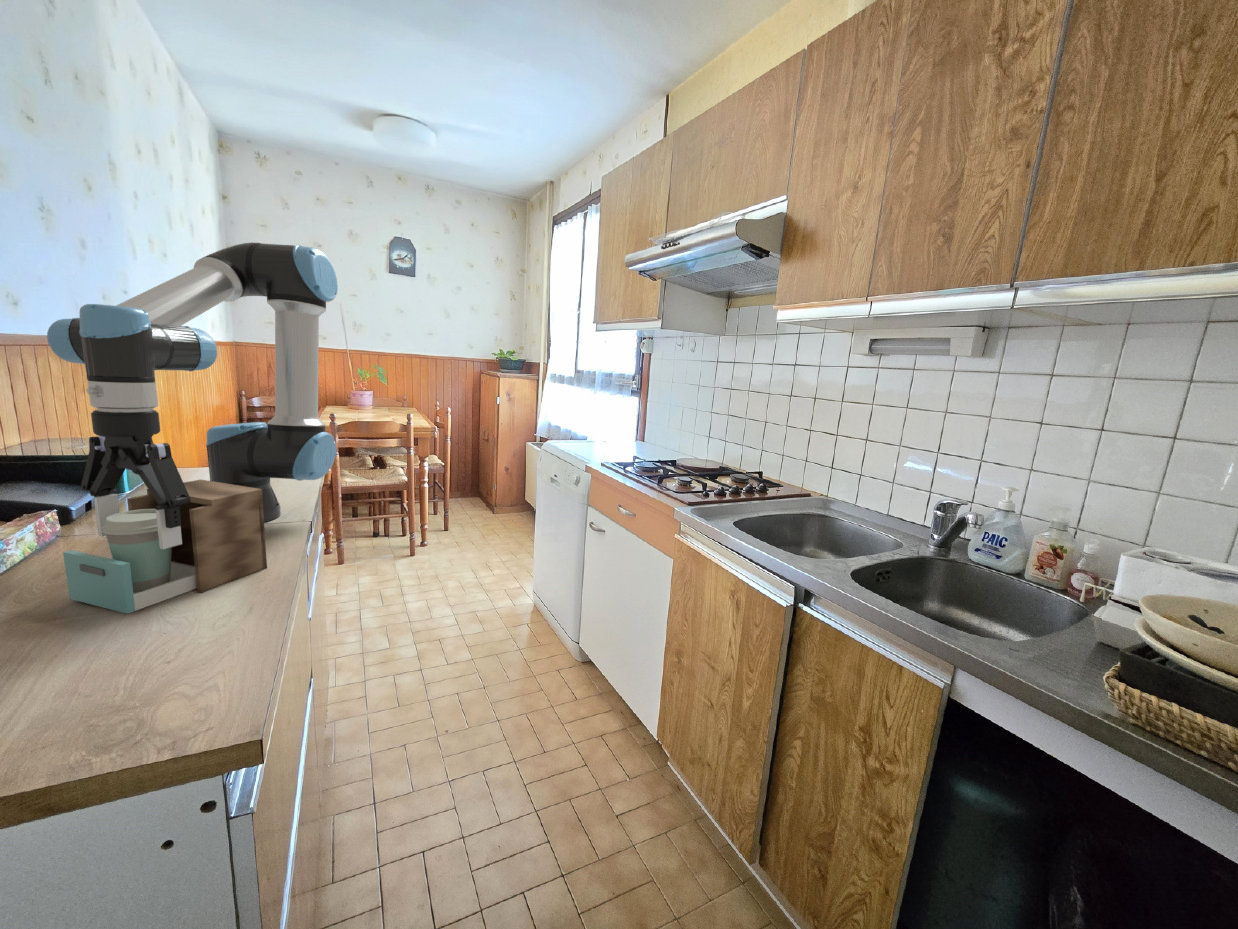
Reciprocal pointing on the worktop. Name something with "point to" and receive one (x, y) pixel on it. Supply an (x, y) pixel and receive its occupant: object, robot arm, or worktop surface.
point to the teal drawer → (119, 582)
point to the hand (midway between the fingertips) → (140, 540)
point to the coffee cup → (139, 547)
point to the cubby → (217, 531)
